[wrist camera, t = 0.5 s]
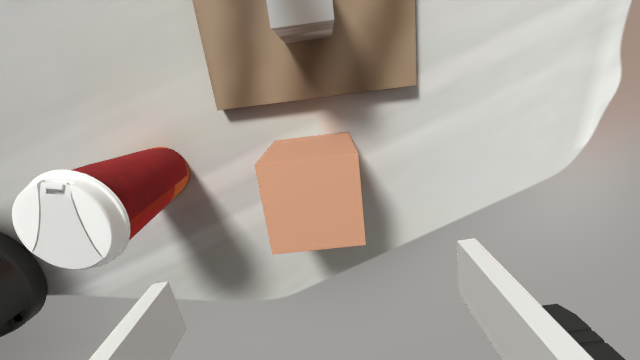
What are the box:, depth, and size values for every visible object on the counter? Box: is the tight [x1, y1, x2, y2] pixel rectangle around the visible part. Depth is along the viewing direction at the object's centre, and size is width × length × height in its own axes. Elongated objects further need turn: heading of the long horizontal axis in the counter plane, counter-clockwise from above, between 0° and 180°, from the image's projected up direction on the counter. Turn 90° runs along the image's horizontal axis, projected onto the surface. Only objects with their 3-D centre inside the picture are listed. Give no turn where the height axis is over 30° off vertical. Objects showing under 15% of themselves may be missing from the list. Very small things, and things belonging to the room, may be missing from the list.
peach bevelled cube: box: [255, 132, 366, 254], centre depth 29 cm, size 8×8×10 cm
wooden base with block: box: [193, 0, 417, 110], centre depth 24 cm, size 20×15×10 cm
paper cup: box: [12, 147, 189, 269], centre depth 27 cm, size 8×8×14 cm
